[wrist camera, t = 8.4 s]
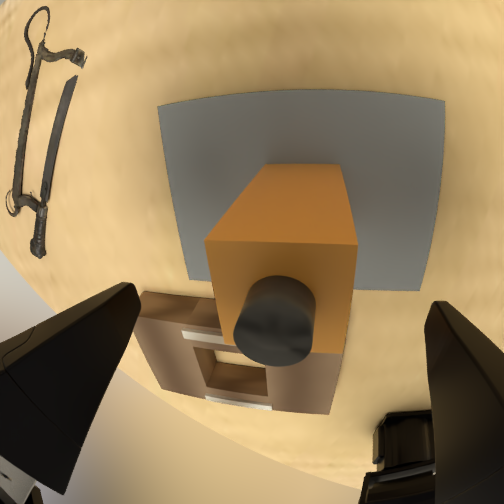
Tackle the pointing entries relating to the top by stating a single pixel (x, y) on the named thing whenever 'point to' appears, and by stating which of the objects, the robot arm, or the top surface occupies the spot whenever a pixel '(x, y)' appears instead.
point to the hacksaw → (31, 81)
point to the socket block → (221, 374)
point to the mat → (314, 152)
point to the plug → (285, 264)
